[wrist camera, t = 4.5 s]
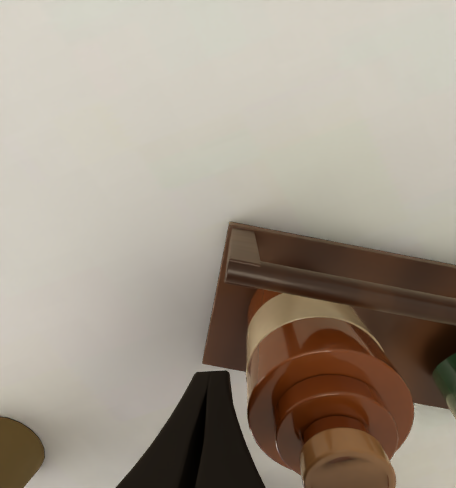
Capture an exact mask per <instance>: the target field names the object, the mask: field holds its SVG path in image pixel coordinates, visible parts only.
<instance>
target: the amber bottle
mask: <svg viewBox="0 0 456 488" xmlns="http://www.w3.org/2000/svg"><path fill="white" fill-rule="evenodd" d="M246 381H247V419H248V424H249V428H250V431H251V434H252V436H253V438H254V439H255V441H256V443H257V444H258V446H259V447H260V448H261V450H262V451H264V452H265V453H266V454H267V455H268V456H269V457H270V458H271V459H273V460H274V461H275V462H277V463H279V464H280V465H282V466H284V467H286V468H289V469H291V470H293V471H295V472H296V473H298V474H299V475H301V476H302V482H303V487H304V488H395V486H396V475H395V471H394V469H393V467H392V464H391V462H390V459H391V458H392V457H393V455H394V453H395V452H396V451H397V450H398V449H399V448H400V447H401V445H402V444H403V443H404V441H405V440H406V438H407V436H408V435H409V433H410V430H411V427H412V424H413V419H414V404H413V398H412V395H411V392H410V390H409V388H408V386H407V384H406V382H405V381H404V379H403V378H402V377H401V375H400V374H399V373H398V371H397V370H396V368H395V367H394V366H393V364H392V363H391V361H390V360H389V359H388V357H387V356H386V354H385V353H384V351H383V349H382V347H381V345H380V344H379V342H378V341H377V340H376V338H375V337H374V335H373V334H372V333H371V331H370V330H369V329H368V327H367V326H366V324H365V323H364V322H363V320H362V319H361V317H360V316H359V315H358V313H357V312H356V311H355V310H354V308H353V307H352V306H349V305H343V304H338V303H333V302H328V301H322V300H317V299H312V298H307V297H301V296H296V295H291V294H285V293H280V292H275V291H270V290H264V289H258V290H257V291H256V293H255V294H254V296H253V297H252V299H251V302H250V304H249V308H248V314H247V336H246Z"/></svg>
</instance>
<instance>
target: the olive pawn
mask: <svg viewBox="0 0 456 488" xmlns="http://www.w3.org/2000/svg"><path fill="white" fill-rule="evenodd" d="M44 458H45V456H44V448H43V446H42V444H41V442H40V439H39V438H38V437H37V436H36V435H35V434H34V433H33V432H32V431H31V430H30V429H29V428H27V427H26V426H24V425H23V424H21V423H19V422H17V421H14V420H11V419H9V418H4V417H0V488H24V486H25V485H26V484H27V483H28V482H29V480H30V479H31V478H32V477H33V475H34V474H35V473H36V472H37V470H38V469H39V468H40V467H41V465H42V463H43V460H44Z"/></svg>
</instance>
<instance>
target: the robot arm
mask: <svg viewBox="0 0 456 488" xmlns="http://www.w3.org/2000/svg"><path fill="white" fill-rule="evenodd" d="M116 488H266V487H265V486H264V484H263V482H262V479H261V477H260V475H259V473H258V471H257V469H256V466H255V464H254V462H253V459H252V457H251V455H250V452H249V450H248V447H247V445H246V442H245V440H244V437H243V434H242V431H241V429H240V426H239V423H238V419H237V416H236V413H235V409H234V405H233V399H232V391H231V382H230V374H229V372H228V371H226V370H225V371H207V372H196V373H195V374H194V376H193V378H192V380H191V382H190V384H189V386H188V388H187V389H186V391H185V393H184V395H183V396H182V398H181V400H180V402H179V403H178V405H177V407H176V408H175V410H174V411H173V413H172V415H171V416H170V418H169V419H168V421H167V422H166V424H165V425H164V427H163V428H162V430H161V431H160V433H159V434H158V436H157V437H156V438H155V440H154V441H153V443H152V444H151V445H150V447H149V448H148V449H147V451H146V452H145V453H144V455H143V456H142V457H141V458H140V460H139V461H138V462H137V463H136V465H135V466H134V467H133V468H132V469H131V471H130V472H129V473H128V474H127V475H126V476H125V478H124V479H123V480H122V481H121V482H120V483H119V484H118V486H117V487H116Z"/></svg>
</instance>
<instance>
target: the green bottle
mask: <svg viewBox="0 0 456 488" xmlns="http://www.w3.org/2000/svg"><path fill="white" fill-rule="evenodd" d="M432 379H433V381H434V383H435V385H436V386H437V388H438V390H439V391H440V393H441V395H442V397H443V398H444V400H445V402H446V403H447V405H448V407H449V409H450V410H451V412H452V414H453V416H454V417H455V419H456V353H454V354H452V355H451V356H449V357H447V358H446V359H445V360H443V361H442V362H441V363H440V364H439V365H438V366H437V367H436V368H435V369H434V371H433V374H432Z"/></svg>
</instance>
